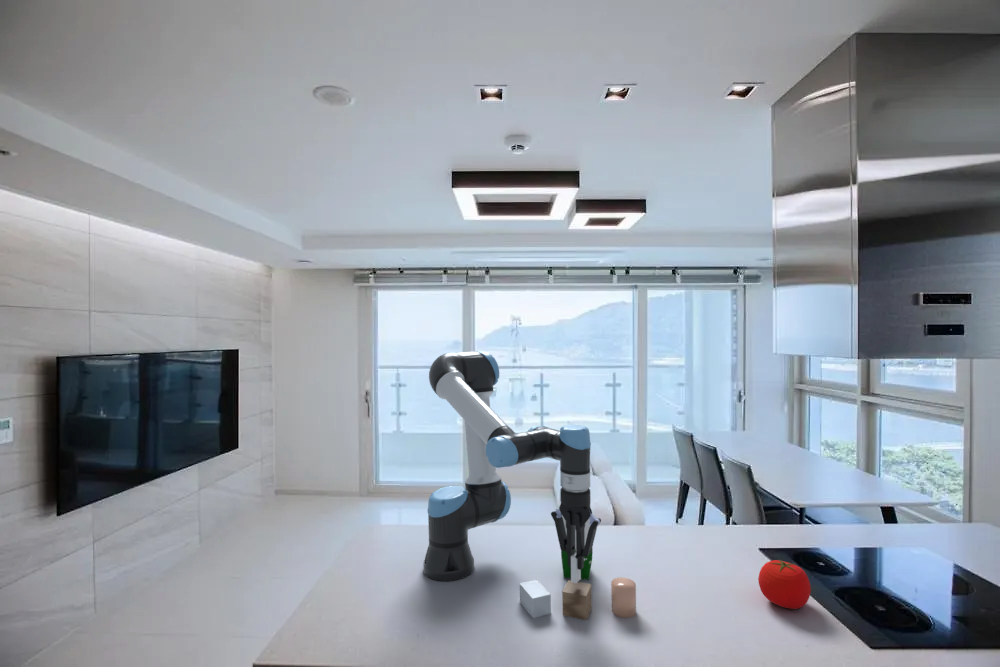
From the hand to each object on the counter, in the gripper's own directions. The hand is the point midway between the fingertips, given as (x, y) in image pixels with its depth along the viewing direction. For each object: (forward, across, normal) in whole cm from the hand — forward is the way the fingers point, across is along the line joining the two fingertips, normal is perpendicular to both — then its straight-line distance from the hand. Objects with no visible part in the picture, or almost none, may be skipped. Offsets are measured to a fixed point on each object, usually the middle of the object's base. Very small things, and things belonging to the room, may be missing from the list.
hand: (575, 580), depth 126 cm
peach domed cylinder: (+8, +10, +6) cm, 14 cm away
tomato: (+8, +44, +30) cm, 54 cm away
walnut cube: (+8, 0, 0) cm, 8 cm away
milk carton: (+8, -8, +18) cm, 21 cm away
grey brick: (+8, -10, -4) cm, 13 cm away
